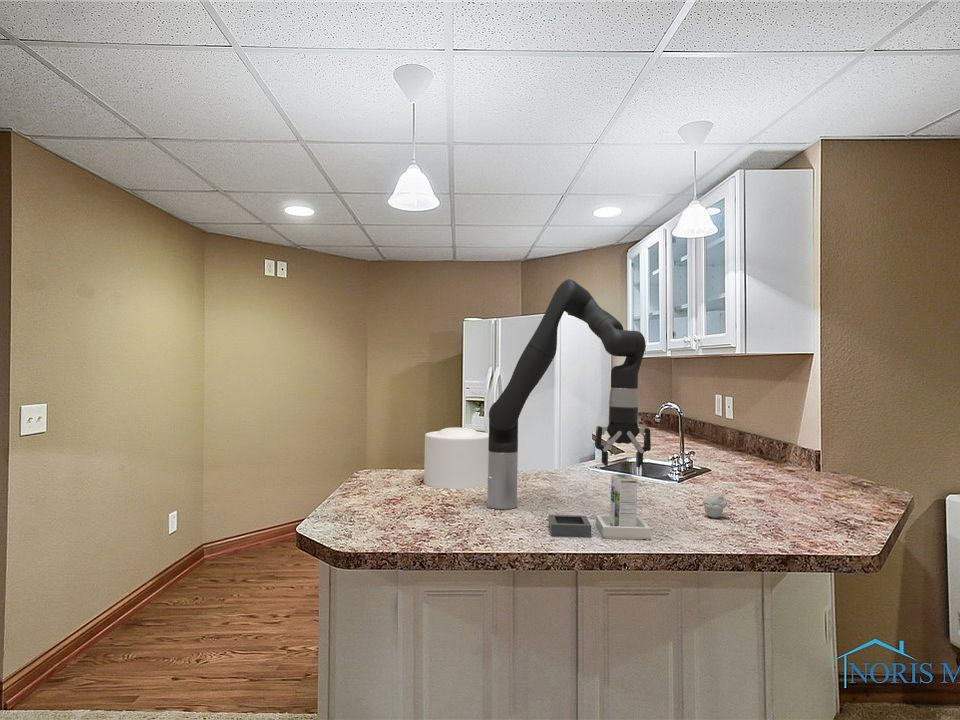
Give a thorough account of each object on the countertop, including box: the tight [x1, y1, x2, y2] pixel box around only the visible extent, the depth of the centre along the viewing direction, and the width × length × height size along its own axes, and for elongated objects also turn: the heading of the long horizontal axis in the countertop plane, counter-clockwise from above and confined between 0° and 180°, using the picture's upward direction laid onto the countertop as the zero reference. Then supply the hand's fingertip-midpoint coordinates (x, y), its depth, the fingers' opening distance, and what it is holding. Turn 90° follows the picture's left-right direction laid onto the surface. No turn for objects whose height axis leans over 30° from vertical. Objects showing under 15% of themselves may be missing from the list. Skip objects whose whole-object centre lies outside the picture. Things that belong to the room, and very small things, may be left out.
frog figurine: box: [702, 493, 729, 519], centre depth 172 cm, size 6×7×7 cm
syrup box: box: [609, 473, 638, 527], centre depth 154 cm, size 6×6×14 cm
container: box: [423, 426, 489, 490], centre depth 218 cm, size 25×25×20 cm
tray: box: [595, 514, 652, 541], centre depth 154 cm, size 12×12×3 cm
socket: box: [548, 514, 592, 538], centre depth 155 cm, size 10×10×3 cm
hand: (622, 466), depth 154 cm, fingers open, 8 cm apart
